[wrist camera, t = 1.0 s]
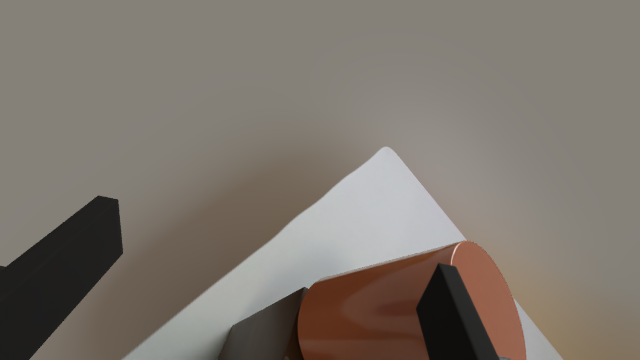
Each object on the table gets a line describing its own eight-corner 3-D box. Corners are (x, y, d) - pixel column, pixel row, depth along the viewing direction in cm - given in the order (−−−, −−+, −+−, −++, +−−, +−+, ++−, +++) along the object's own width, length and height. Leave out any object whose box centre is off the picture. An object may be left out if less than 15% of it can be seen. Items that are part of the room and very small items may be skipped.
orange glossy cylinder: (278, 337, 20) (438, 321, 13) (327, 256, 25) (460, 213, 18) (347, 413, 21) (529, 438, 14) (381, 321, 27) (525, 305, 19)
